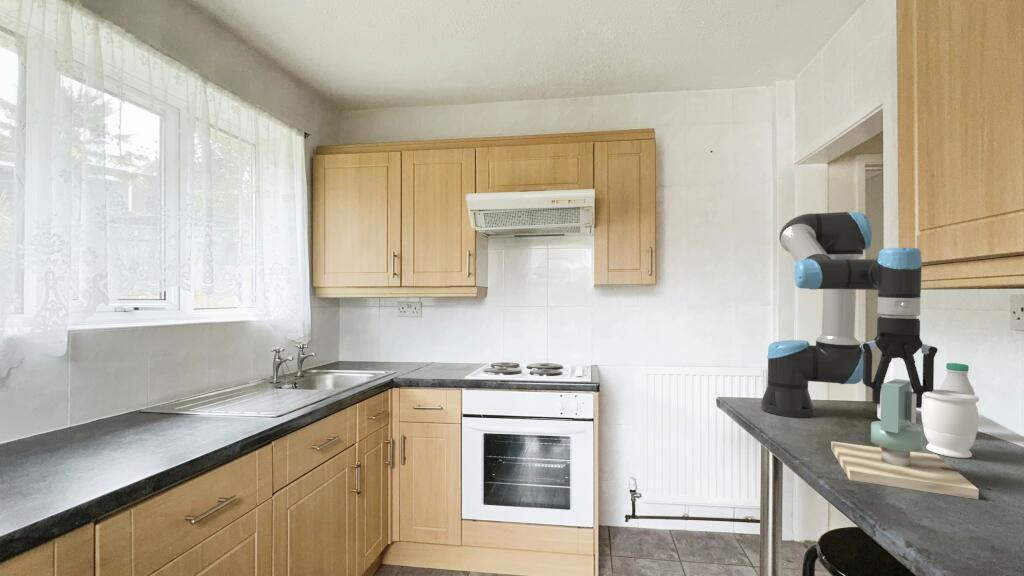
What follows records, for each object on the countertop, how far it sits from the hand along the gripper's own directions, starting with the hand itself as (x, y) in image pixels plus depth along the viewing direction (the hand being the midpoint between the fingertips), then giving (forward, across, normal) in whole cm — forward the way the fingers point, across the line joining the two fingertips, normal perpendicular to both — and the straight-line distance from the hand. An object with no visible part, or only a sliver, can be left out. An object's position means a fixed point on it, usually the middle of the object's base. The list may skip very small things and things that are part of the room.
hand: (896, 419), depth 108 cm
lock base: (+12, 0, 0) cm, 12 cm away
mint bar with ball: (+6, 0, +1) cm, 6 cm away
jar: (+12, +16, +21) cm, 29 cm away
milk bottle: (+12, +24, +41) cm, 49 cm away
